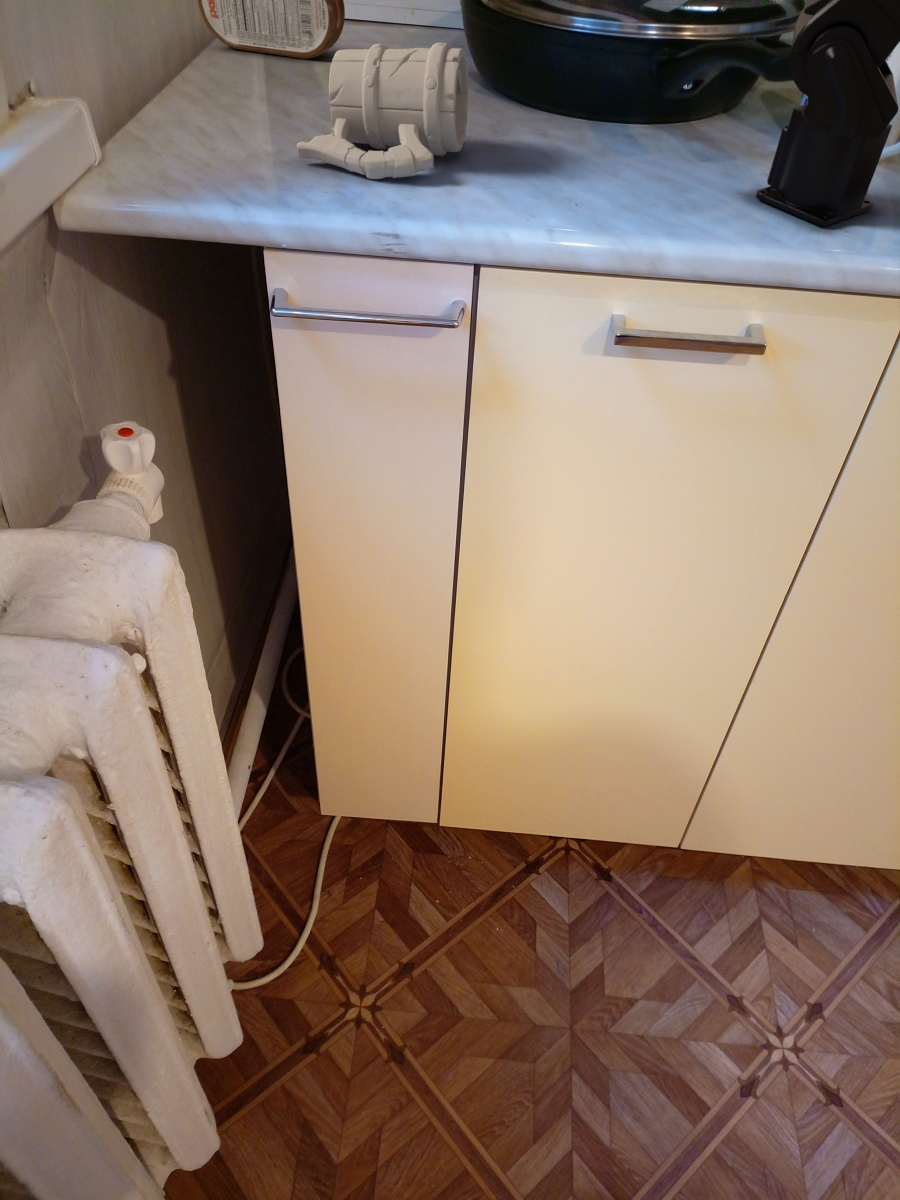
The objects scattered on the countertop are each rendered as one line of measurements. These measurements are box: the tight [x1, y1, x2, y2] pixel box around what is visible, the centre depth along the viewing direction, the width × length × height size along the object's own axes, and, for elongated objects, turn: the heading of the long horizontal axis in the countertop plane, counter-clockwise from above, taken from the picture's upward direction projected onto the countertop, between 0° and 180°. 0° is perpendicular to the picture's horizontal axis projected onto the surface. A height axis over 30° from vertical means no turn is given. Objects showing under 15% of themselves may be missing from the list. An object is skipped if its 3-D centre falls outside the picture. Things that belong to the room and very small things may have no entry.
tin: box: [196, 0, 346, 60], centre depth 85 cm, size 15×3×8 cm, turn 74°
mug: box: [296, 42, 470, 180], centre depth 67 cm, size 8×12×12 cm
